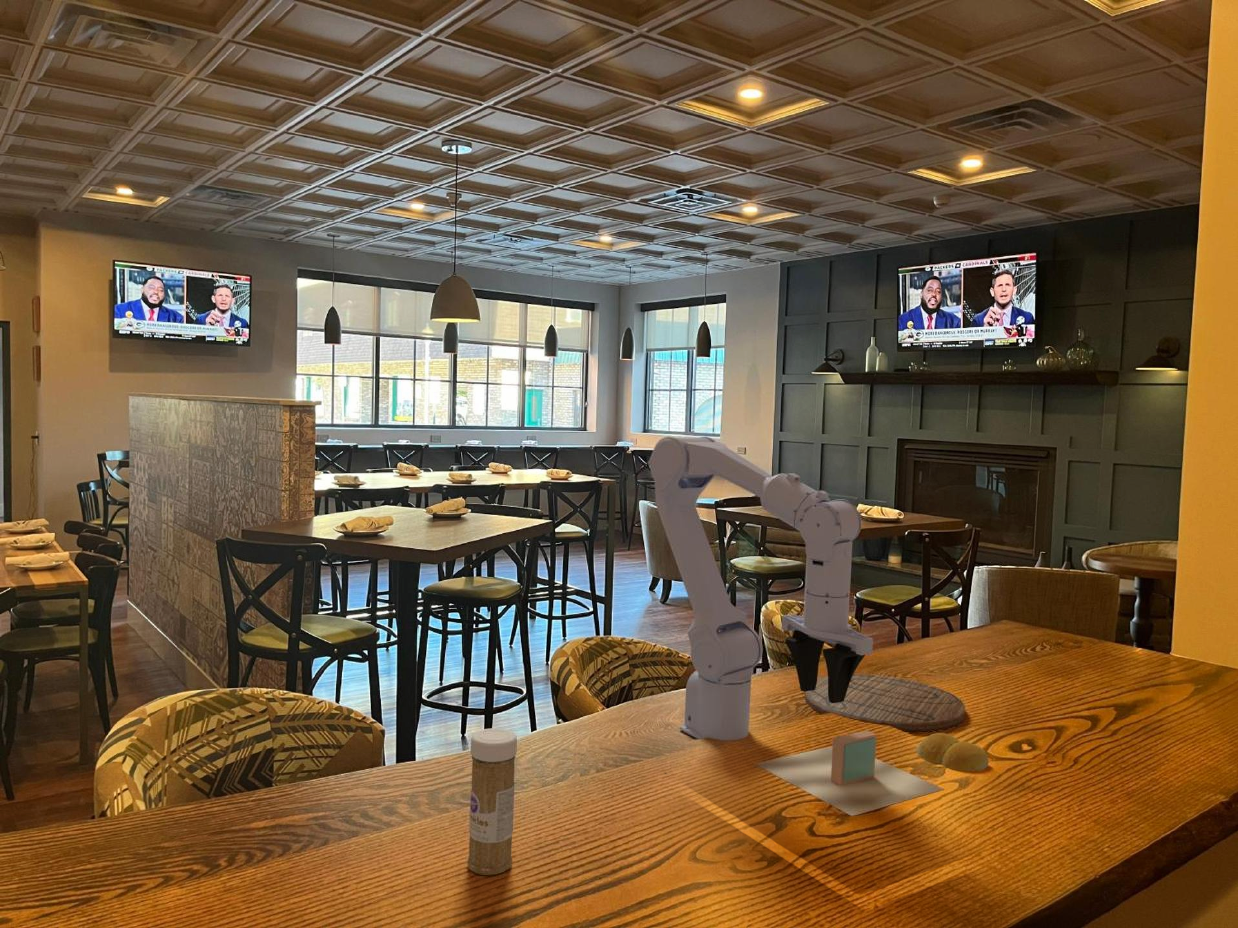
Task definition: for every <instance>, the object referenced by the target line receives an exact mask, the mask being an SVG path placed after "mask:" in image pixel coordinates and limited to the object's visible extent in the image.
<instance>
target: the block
mask: <svg viewBox="0 0 1238 928" xmlns="http://www.w3.org/2000/svg"><path fill="white" fill-rule="evenodd" d="M832 746H833V749H832V769H831V781H832V782H834V783H836V784H838V785H840V786H842V785H845V784H849V783H853V782H857V781H861V780H865V779H868V778H872V777H874V773H875V758H876V752H877V751H876V749H877V733H874V732H871V731H869V730H863V731H858V732H853V733H850V734H845V735H841V736H836V737H835V736H834V737H833V738H832Z"/></svg>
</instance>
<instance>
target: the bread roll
mask: <svg viewBox="0 0 1238 928" xmlns="http://www.w3.org/2000/svg"><path fill="white" fill-rule="evenodd" d="M915 750H916V754H917V755H918V756H919V758H921V759H923V760H924V761H926V762H929V763H933V764H939V765H942V766H943V768H944V767H945V768H947V769H950V770H953V771H960V772H961V771H962V772H976V771H977V772H980V771H983V770H986V769H987V767H988V766H989V762H990V761H989V757H988V754H987V752H986V751H985V750H984V749H983V748H982V747H981V746H979V745H976V744H974V743H972V742H968V741H960V740H959V739H958V738H956V737H955V736H953V735H951V734H948V733H945V732H936V733H935V732H934V733H932V734H930V735H929V736H928V735H927V736H926V737H925V738H924V739H923V740H921V741H920V742H919V743H918V744H917V746H916V749H915Z"/></svg>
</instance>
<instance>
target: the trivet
mask: <svg viewBox="0 0 1238 928" xmlns="http://www.w3.org/2000/svg"><path fill="white" fill-rule="evenodd" d="M804 699H805V703H806V704H807V705H808V706H809V707H810V708H811V710H813V711H815V712H817V713H819V714H821V715H827V714H831V713H832V714H836V715H839V716H841V717H845V718H850V719H852V720H853V719H854V720H858V721H861V722H868V723H873V724H879V725H886V726H888V727H891V728H893V729H897V730H899V731H901V732H904V733H906V734H907V732H916V733H915V734H917V732H928V733H934V732H933V731H937V732H940V731H939V730H944V731H947V729H948V730H950V729H949V728H951V729H954V728H953V727H955V728H957V727H959V724H960V723H961V724H963V723H964V721H965V715H966V705H965V703H964V702H963V701H962V700H961V698H959V697H957V696H956V695H955V694H953V693H951V692H948V691H947V690H944V689H942V688H939V687H938V686H933V685H931V684H927V683H925V682H920V681H915V680H912V679H907V678H901V677H894V676H887V675H880V674H868V673H861V674H860V673H854V674H853V676H852V678H851V681H850V684H849V686H848V689H847V693H846V696H845V699H844V702H839V703H831V702H829V698H828V675H827V676H822V677H817V684H816V688H815V690H811V691H806V692H804ZM961 724H960V725H961Z"/></svg>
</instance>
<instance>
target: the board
mask: <svg viewBox="0 0 1238 928" xmlns="http://www.w3.org/2000/svg"><path fill="white" fill-rule="evenodd" d="M832 749H833V745H832V746H826V747H821V748H819V749H813V750H810V751H809V750H808V751H804V752H801V753H800V752H799V753H796V754H791V755H787V756H781V757H778V758H774V759H770V760H765V761H760V762H756V763H754V765H756V766H758V767H759V768H761V769H762V770H764V771H767V772H768V773H771V774H773V775H774V776H776V777H778V778H780V779H781V780H783V781H786V782H787V783H789V784H791V785H793V786H795V787H796V788H799V789H800V790H802V791H803V792H805V793H808V794H809V795H811V796H814V797H815V798H817V799H819V800H820V801H823V802H825V803H827V804H828V805H830V806H832V807H834V808H836V809H838V810H839V811H841V812H843V813H845V814H847V815H849V816H851V817H853V816H855V817H856V816H857V815H860V814H865V813H868V812H872V811H875V810H879V809H882V808H886V807H890V806H891V805H895V804H899V803H903V802H906V801H909V800H913V799H917V798H920V797H924V796H926V795H927V796H928V795H930V794H933V793H937V792H940V791H944V790H945V789H944V788H943V787H940V786H938V785H935V784H933V783H932V782H929V781H926V780H925V779H923V778H921V777H918V776H916V775H913V774H911V773H908V772H906V771H904V770H902V769H900V768H898V767H896V766H894V765H891V764H889V763H887V762H884V761H882V760H880V759H878V758H876V757H875V773H874V777H872V778H868V779H865V780H861V781H857V782H853V783H849V784H845V785H842V786H840V785H838V784H836V783H834V782H832V781H831V769H832Z"/></svg>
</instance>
